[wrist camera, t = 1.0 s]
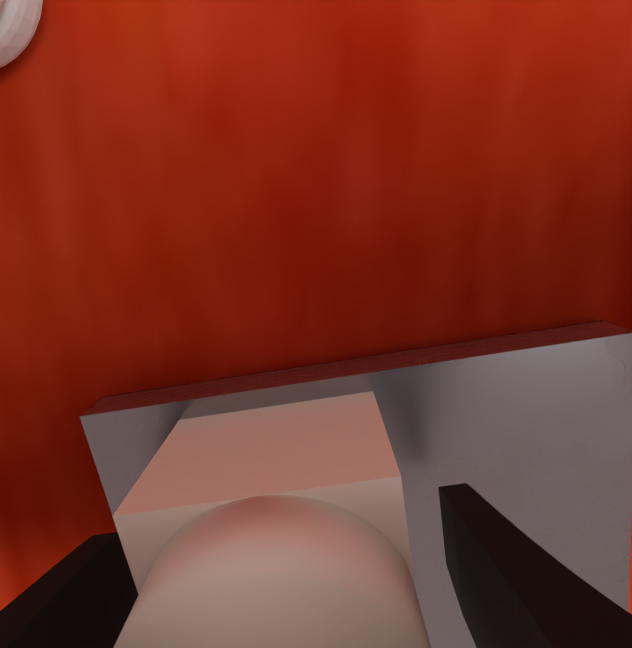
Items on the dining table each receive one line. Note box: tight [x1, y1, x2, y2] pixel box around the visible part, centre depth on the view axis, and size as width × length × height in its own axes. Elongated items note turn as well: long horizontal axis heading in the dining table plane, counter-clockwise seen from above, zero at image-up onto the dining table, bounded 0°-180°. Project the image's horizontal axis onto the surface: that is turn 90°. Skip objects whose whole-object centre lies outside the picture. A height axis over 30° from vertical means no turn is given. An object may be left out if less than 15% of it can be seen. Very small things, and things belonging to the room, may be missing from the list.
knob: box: [112, 391, 431, 648], centre depth 8 cm, size 5×5×5 cm
